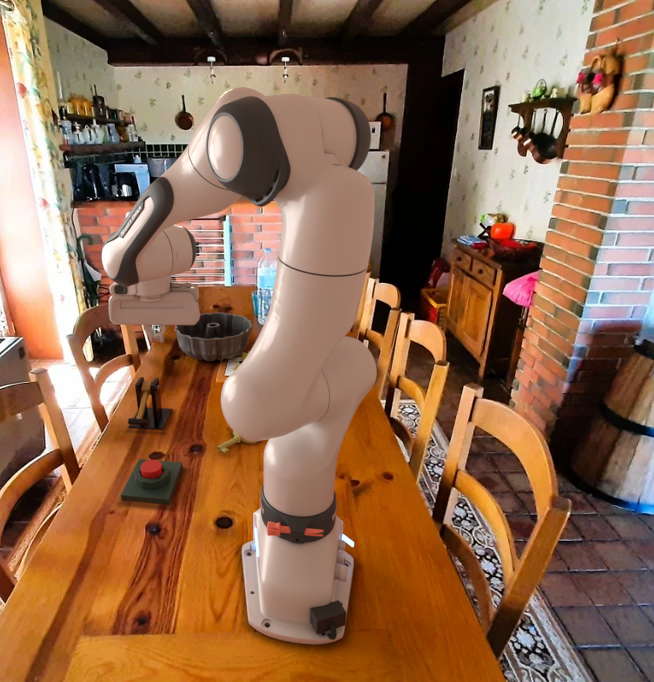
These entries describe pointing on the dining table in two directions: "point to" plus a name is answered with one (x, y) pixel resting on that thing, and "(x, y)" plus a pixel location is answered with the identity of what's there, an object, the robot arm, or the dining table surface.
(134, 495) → the switch box
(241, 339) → the bundt pan
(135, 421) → the lever
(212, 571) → the dining table surface
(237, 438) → the key
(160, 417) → the lever bracket
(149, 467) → the button
